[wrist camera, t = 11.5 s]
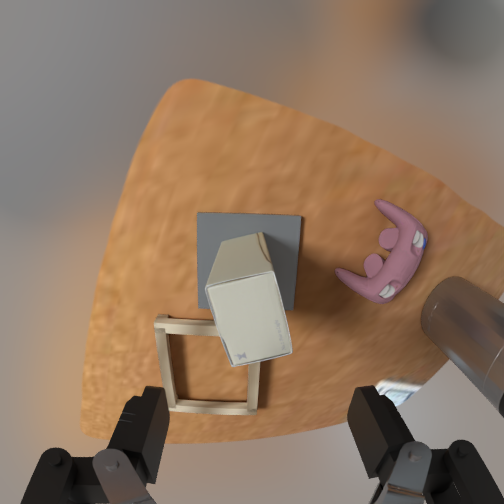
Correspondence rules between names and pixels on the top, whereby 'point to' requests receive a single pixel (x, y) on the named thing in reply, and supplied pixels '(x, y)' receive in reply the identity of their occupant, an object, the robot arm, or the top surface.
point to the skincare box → (247, 302)
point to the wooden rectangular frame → (162, 331)
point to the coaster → (241, 224)
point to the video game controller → (390, 257)
